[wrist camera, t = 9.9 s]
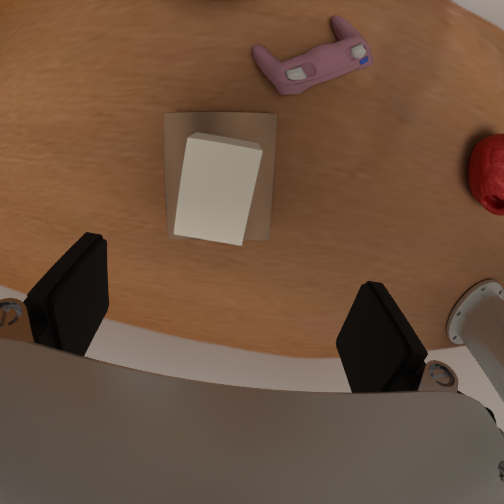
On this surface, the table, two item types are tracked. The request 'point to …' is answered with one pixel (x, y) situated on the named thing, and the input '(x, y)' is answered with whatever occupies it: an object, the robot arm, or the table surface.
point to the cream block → (216, 187)
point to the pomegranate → (488, 173)
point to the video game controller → (316, 60)
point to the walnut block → (232, 126)
